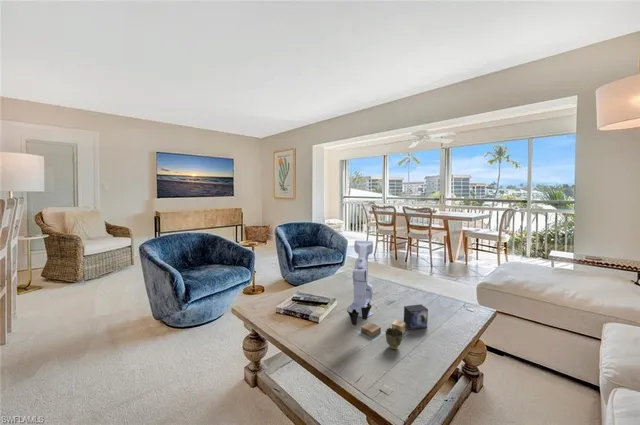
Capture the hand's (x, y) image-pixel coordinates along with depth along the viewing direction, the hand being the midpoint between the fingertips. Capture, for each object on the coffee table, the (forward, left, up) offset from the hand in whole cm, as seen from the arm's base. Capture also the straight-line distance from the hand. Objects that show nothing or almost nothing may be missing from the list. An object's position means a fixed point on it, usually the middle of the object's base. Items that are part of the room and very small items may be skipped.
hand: (359, 321), depth 130 cm
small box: (+11, +32, -10) cm, 35 cm away
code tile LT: (-1, +10, -10) cm, 14 cm away
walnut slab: (-1, +10, -9) cm, 14 cm away
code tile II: (+9, +20, -10) cm, 24 cm away
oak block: (+9, +20, -9) cm, 24 cm away
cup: (+14, +7, -10) cm, 19 cm away
